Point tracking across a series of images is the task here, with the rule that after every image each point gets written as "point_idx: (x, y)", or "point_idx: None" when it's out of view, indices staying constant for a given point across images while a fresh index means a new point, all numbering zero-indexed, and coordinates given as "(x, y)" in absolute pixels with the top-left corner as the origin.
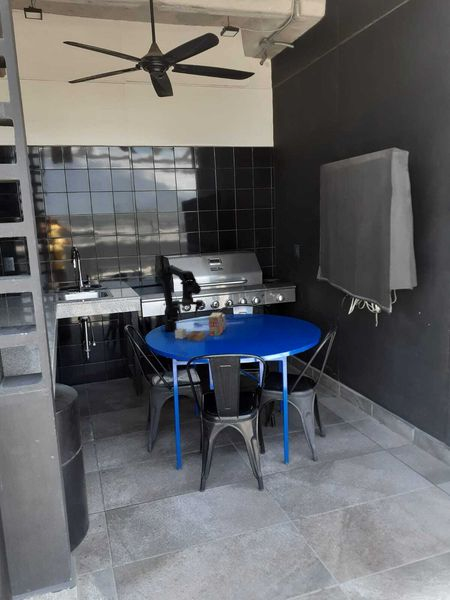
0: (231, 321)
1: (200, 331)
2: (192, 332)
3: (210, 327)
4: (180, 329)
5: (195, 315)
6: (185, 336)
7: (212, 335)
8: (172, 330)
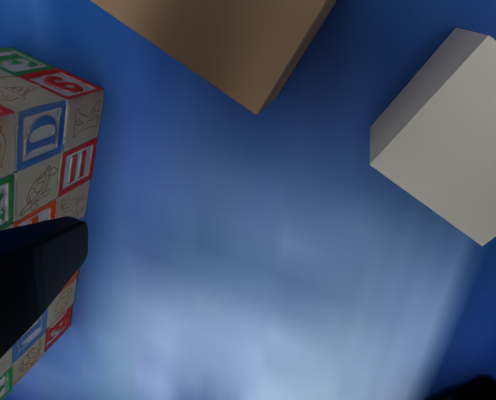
0: (5, 397)
1: (156, 43)
2: (282, 8)
3: (10, 102)
4: (481, 164)
5: (37, 232)
6: (387, 109)
7: (70, 75)
8: (476, 395)
